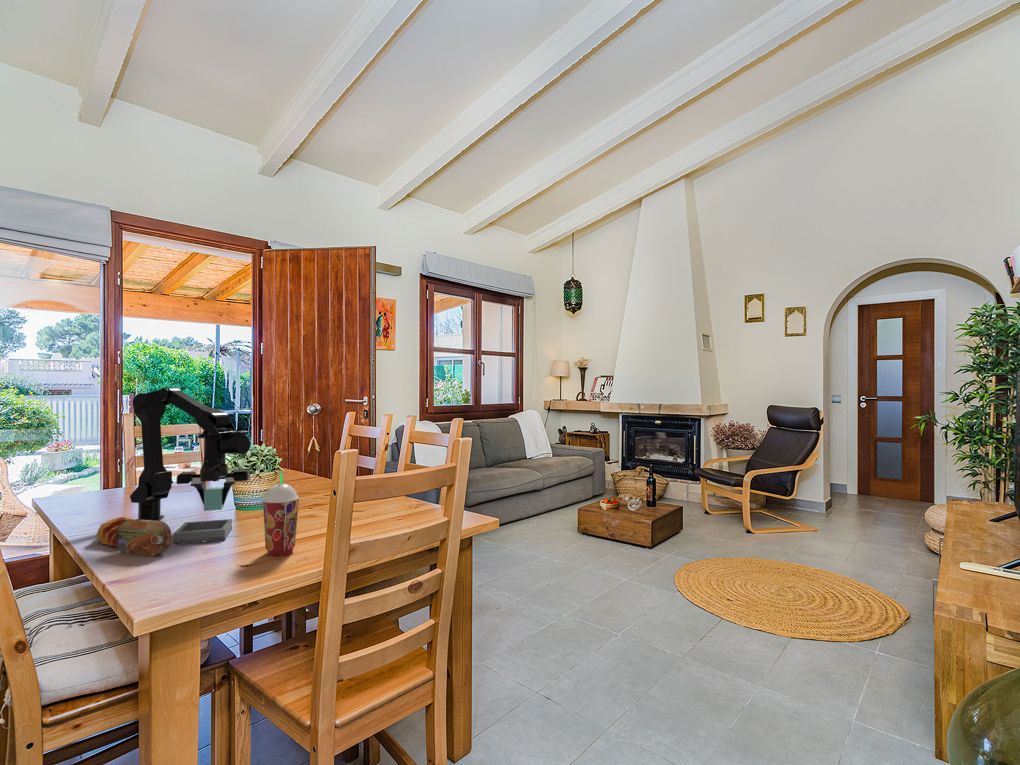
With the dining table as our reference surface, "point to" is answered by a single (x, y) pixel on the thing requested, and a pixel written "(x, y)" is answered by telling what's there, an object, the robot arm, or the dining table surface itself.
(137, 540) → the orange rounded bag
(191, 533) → the bin
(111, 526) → the croissant
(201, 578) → the dining table surface
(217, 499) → the block
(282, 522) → the smoothie
